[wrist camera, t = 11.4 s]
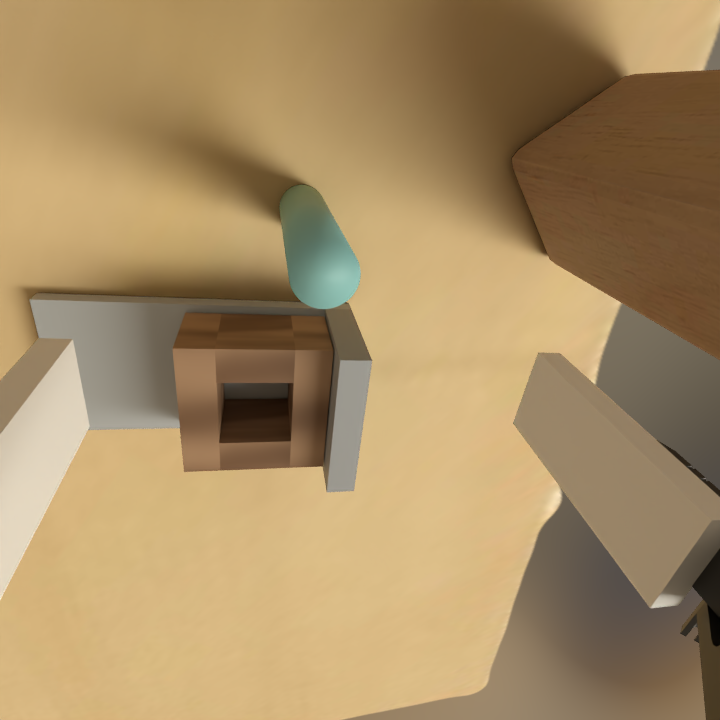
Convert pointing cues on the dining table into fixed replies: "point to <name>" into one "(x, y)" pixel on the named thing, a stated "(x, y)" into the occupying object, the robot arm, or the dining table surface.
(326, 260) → the teal dowel
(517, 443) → the dining table surface
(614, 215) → the block
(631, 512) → the robot arm
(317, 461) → the walnut block
